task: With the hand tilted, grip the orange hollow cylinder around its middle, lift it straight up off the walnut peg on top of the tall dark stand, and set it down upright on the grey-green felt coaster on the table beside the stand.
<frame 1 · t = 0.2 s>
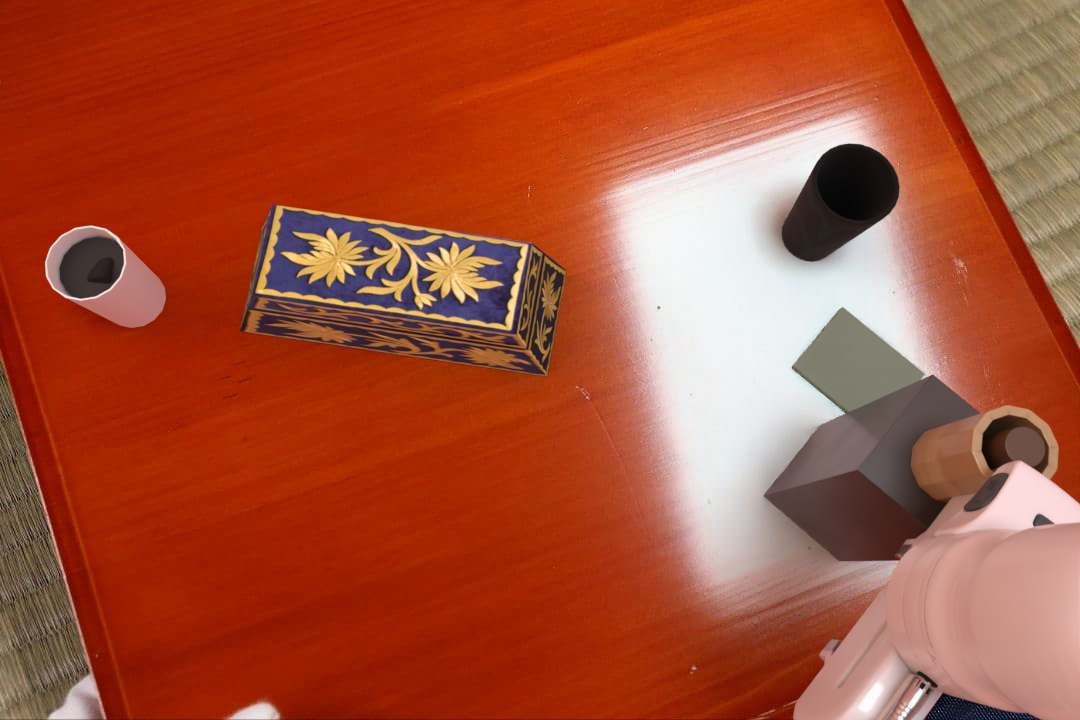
hand: (871, 604, 59), 19 cm above the table, tool pointing down, fingers open, 7 cm apart
cup: (808, 235, 87), on the table
decorative box: (405, 301, 83), on the table
orange hollow cylinder: (948, 464, 59), point 22 cm above the table, touching peg stand
felt coaster: (857, 371, 83), on the table
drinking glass: (136, 299, 82), on the table
peg stand: (830, 491, 81), on the table
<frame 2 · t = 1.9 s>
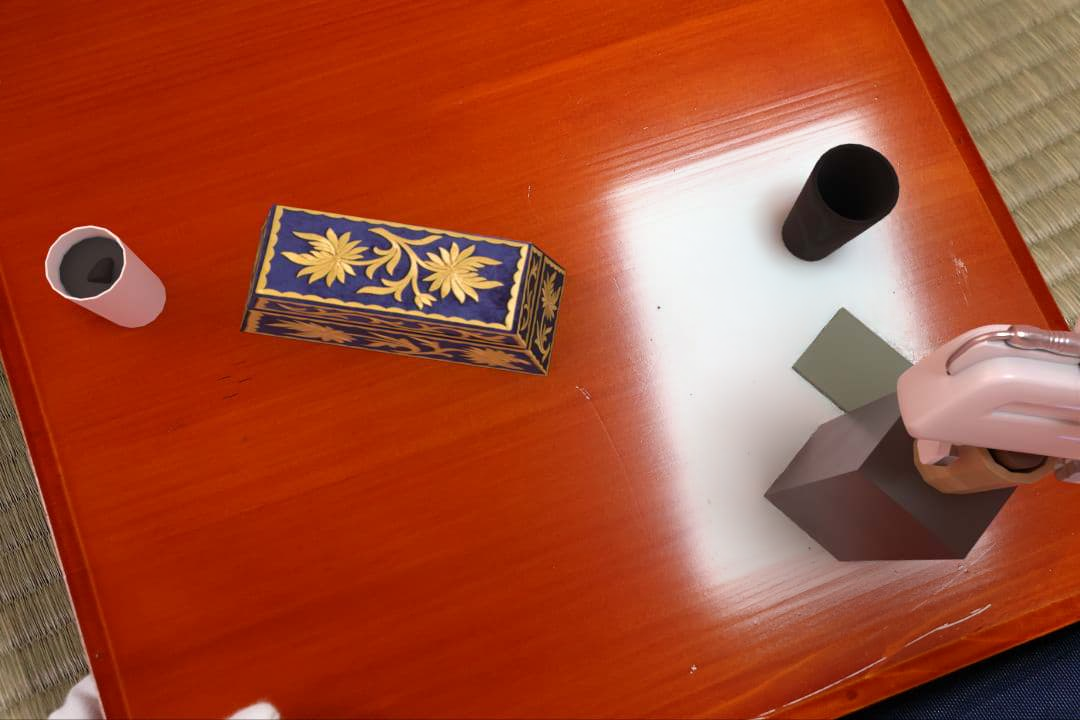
hand: (996, 463, 54), 27 cm above the table, tool tilted 20°, fingers open, 8 cm apart
nothing on the table moved.
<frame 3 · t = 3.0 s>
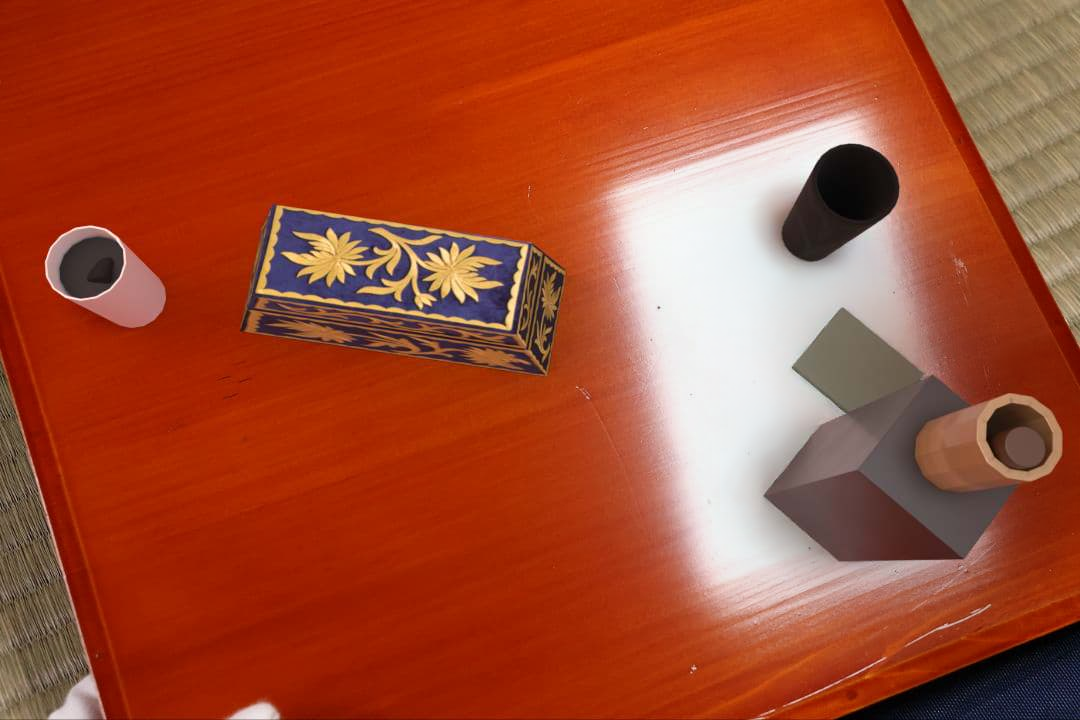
nothing on the table moved.
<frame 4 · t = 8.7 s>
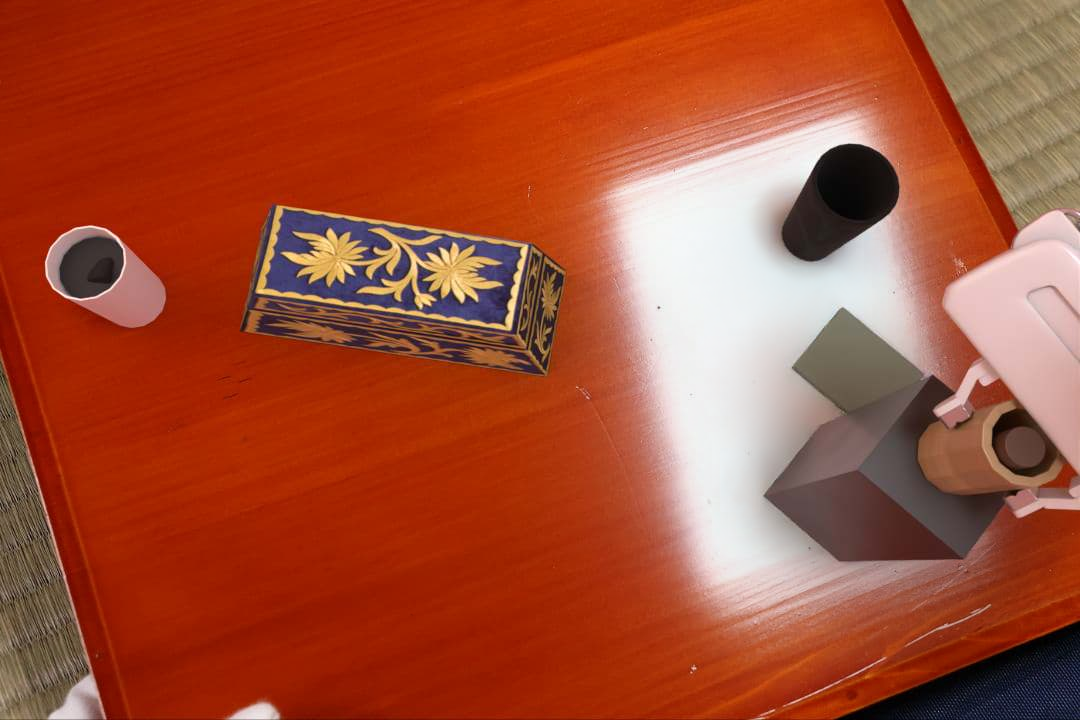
hand: (975, 461, 55), 26 cm above the table, tool tilted 45°, fingers closed on orange hollow cylinder, 5 cm apart
orange hollow cylinder: (954, 456, 59), point 22 cm above the table, touching gripper, peg stand
everything else where it was.
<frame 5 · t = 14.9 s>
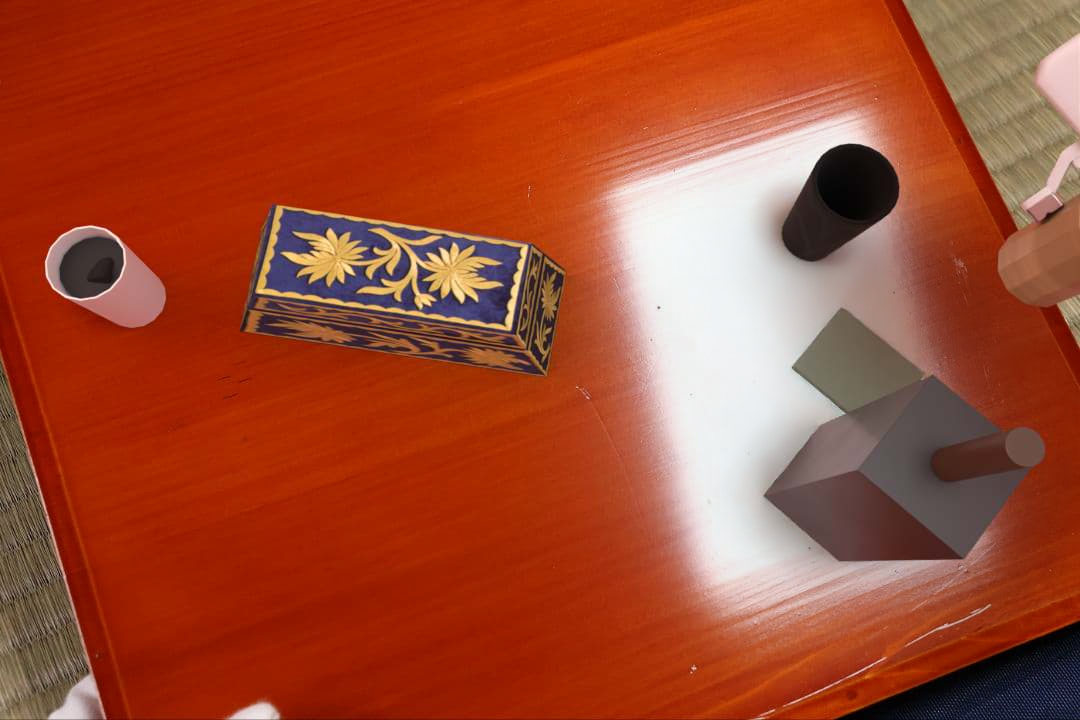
hand: (1065, 257, 52), 32 cm above the table, tool tilted 45°, fingers closed on orange hollow cylinder, 5 cm apart
orange hollow cylinder: (1036, 268, 56), point 28 cm above the table, touching gripper
everything else where it was.
when the fingers open (5 cm above the table, at t = 21.2 s): orange hollow cylinder stays where it is, resting on felt coaster.
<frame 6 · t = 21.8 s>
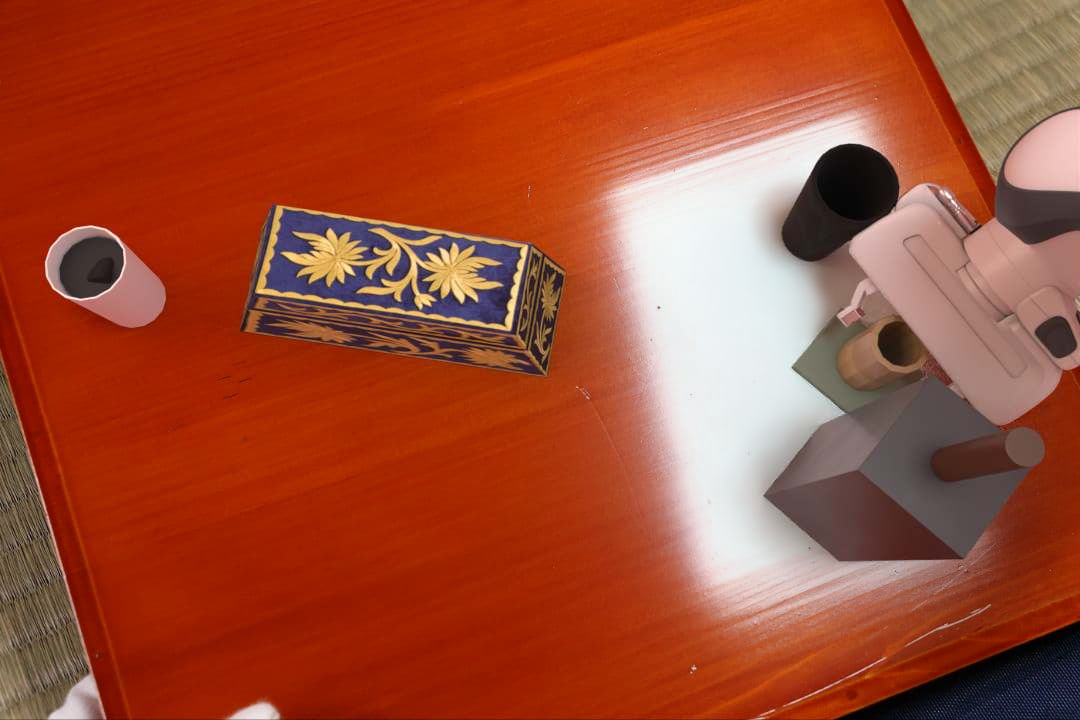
hand: (875, 362, 78), 5 cm above the table, tool tilted 45°, fingers open, 8 cm apart
orange hollow cylinder: (863, 364, 83), point 1 cm above the table, touching felt coaster
everything else where it was.
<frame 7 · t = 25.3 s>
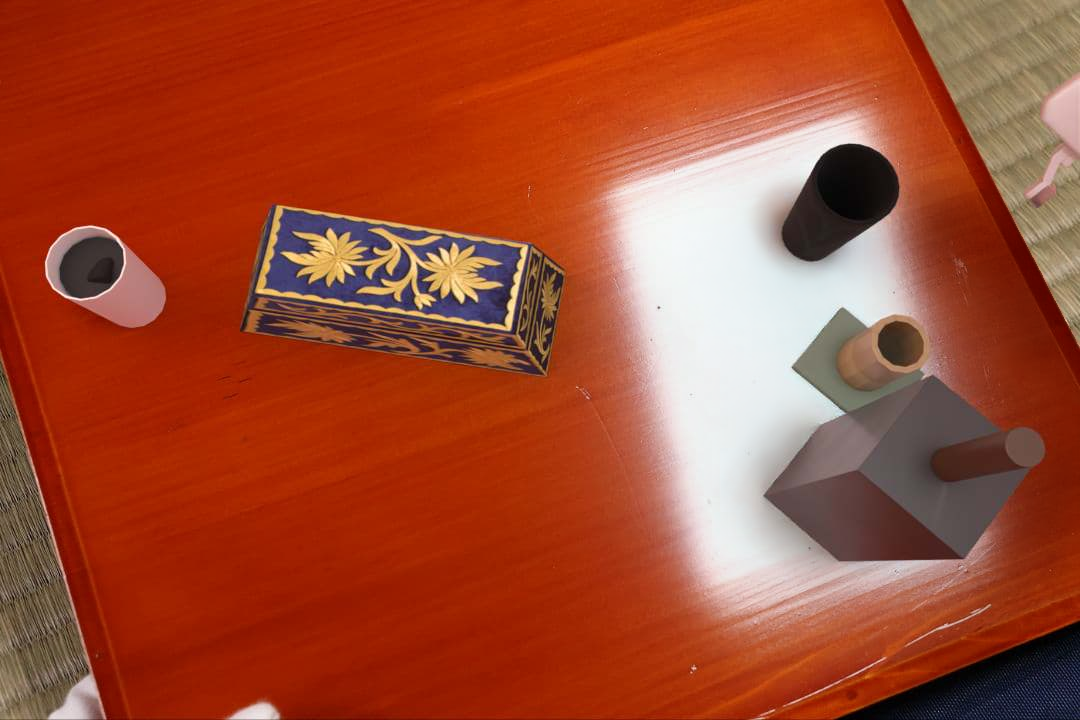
hand: (1073, 242, 68), 18 cm above the table, tool tilted 40°, fingers open, 8 cm apart
nothing on the table moved.
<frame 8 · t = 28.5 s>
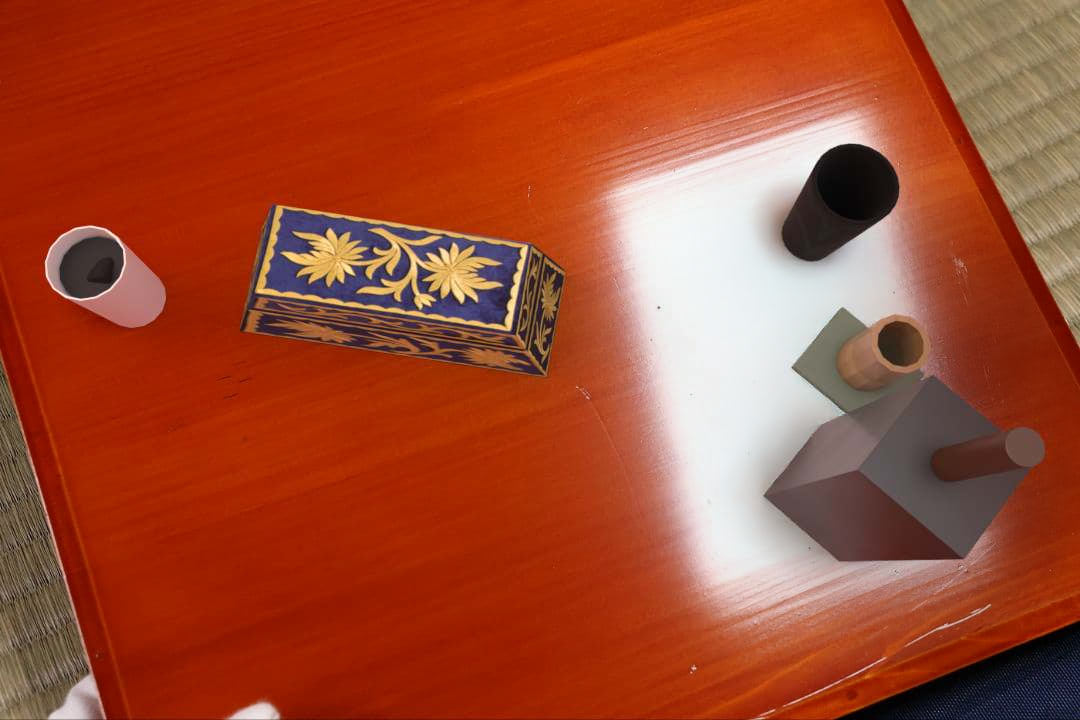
nothing on the table moved.
at the end: orange hollow cylinder inside the target area on the felt coaster (0.7 cm from its centre), point 0.6 cm above the felt coaster's base; orange hollow cylinder tilted 0°; orange hollow cylinder touching felt coaster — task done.
